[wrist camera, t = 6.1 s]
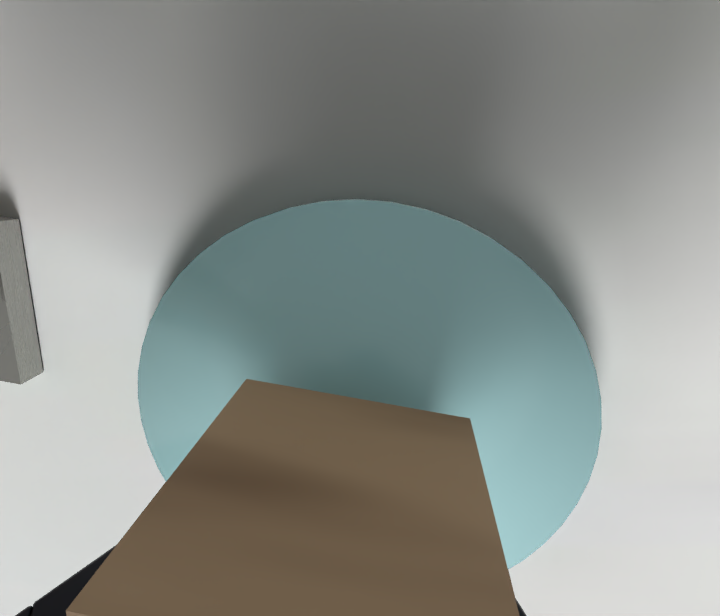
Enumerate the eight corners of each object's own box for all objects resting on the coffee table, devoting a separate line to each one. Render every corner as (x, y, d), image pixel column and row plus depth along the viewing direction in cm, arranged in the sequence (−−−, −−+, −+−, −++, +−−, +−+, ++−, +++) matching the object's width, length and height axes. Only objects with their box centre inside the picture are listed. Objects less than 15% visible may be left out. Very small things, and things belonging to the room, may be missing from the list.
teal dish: (516, 604, 14) (524, 635, 13) (165, 531, 15) (149, 555, 14) (659, 239, 10) (686, 246, 9) (148, 164, 10) (122, 164, 10)
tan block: (426, 580, 10) (442, 926, 6) (240, 541, 11) (105, 838, 6) (470, 418, 9) (545, 717, 4) (246, 378, 9) (65, 610, 4)
